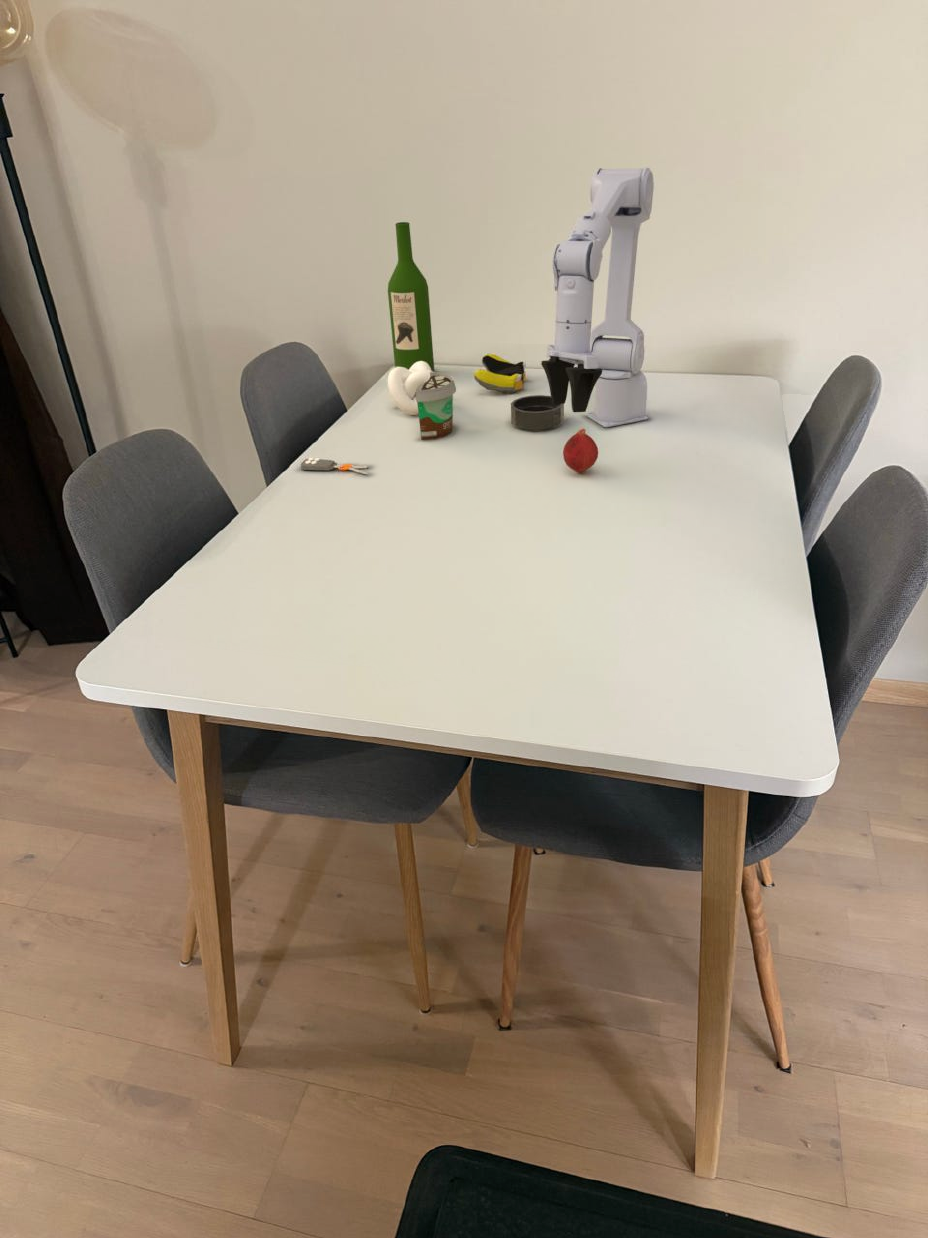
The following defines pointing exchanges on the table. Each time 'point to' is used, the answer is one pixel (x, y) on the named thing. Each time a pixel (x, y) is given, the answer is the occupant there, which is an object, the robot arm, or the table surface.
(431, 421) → the food container
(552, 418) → the bowl
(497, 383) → the banana bunch
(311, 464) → the key chain
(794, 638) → the table surface
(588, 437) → the onion
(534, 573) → the table surface
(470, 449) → the table surface
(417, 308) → the wine bottle
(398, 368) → the white knotted piece
